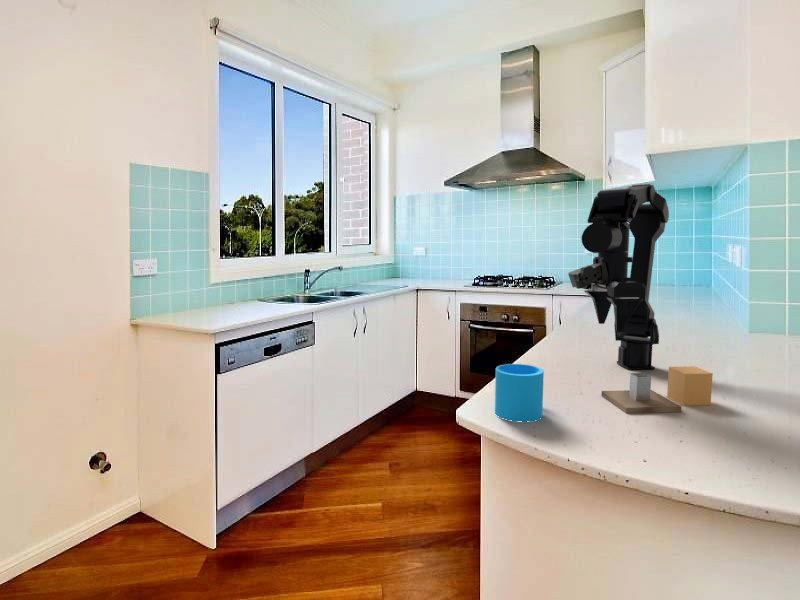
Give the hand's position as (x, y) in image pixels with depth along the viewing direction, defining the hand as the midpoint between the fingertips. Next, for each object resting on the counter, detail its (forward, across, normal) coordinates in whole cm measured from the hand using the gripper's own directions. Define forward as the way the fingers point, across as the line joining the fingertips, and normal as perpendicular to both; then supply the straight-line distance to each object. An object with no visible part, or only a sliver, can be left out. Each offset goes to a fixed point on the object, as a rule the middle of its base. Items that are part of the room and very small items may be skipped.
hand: (609, 327), depth 104 cm
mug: (+13, +16, -22) cm, 30 cm away
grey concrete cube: (+12, +12, +1) cm, 17 cm away
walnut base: (+12, +12, +1) cm, 17 cm away
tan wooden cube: (+12, +10, +11) cm, 20 cm away
